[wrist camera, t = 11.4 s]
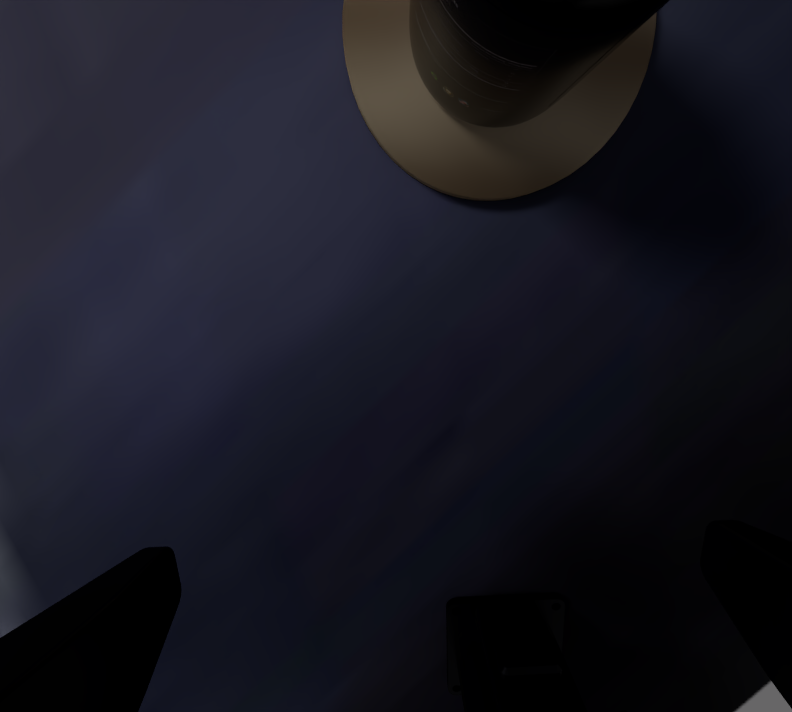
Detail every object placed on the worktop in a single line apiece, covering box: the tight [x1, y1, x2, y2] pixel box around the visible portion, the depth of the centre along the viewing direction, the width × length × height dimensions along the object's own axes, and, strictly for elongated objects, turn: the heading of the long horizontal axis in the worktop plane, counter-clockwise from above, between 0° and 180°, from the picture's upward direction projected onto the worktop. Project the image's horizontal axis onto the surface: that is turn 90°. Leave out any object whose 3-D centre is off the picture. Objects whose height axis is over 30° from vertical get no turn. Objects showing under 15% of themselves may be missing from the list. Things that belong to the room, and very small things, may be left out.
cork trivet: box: [343, 0, 656, 201], centre depth 16 cm, size 12×12×1 cm
